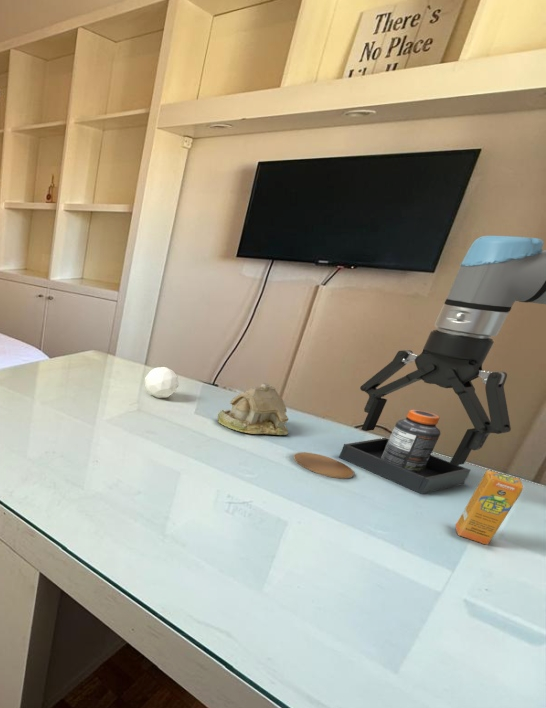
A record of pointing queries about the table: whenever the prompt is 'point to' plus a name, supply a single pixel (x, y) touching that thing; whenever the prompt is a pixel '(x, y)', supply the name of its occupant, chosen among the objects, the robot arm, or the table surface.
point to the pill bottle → (413, 441)
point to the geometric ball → (161, 382)
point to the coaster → (323, 465)
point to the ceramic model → (256, 412)
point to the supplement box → (488, 507)
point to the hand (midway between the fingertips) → (408, 445)
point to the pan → (431, 479)
